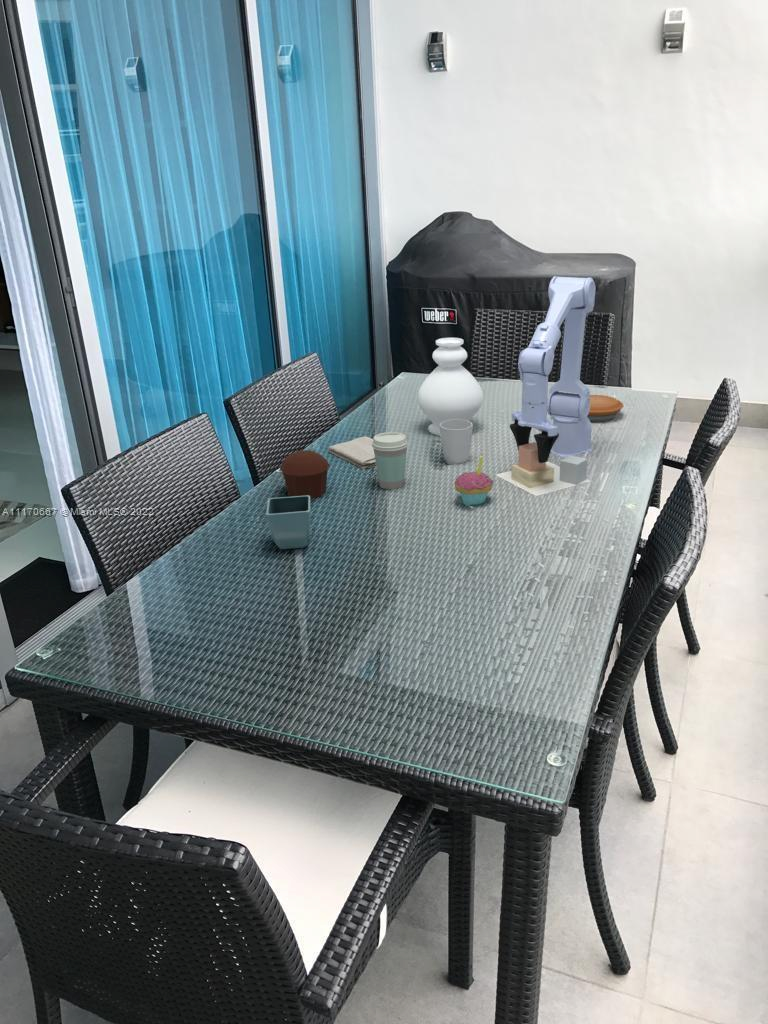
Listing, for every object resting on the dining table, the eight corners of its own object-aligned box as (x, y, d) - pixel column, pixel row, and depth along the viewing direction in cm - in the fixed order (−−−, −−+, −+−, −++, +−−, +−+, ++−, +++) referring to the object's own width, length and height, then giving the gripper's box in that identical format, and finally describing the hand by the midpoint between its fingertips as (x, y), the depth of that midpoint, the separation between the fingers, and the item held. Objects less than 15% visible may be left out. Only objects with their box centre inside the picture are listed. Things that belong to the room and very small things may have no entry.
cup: (472, 456, 225) (472, 419, 220) (472, 467, 217) (472, 429, 213) (441, 456, 225) (440, 419, 221) (439, 467, 218) (438, 429, 214)
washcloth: (365, 472, 219) (364, 460, 218) (326, 454, 232) (325, 443, 231) (402, 461, 225) (402, 449, 224) (362, 444, 239) (362, 433, 237)
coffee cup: (415, 480, 211) (413, 433, 206) (400, 493, 204) (398, 444, 199) (383, 476, 214) (380, 429, 210) (367, 488, 207) (365, 440, 203)
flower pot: (271, 536, 185) (267, 497, 182) (313, 533, 186) (310, 494, 182) (270, 554, 177) (265, 514, 173) (313, 551, 178) (310, 511, 174)
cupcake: (496, 497, 199) (496, 447, 195) (487, 511, 192) (488, 460, 187) (459, 493, 202) (459, 444, 197) (450, 508, 195) (449, 457, 190)
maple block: (535, 473, 210) (535, 459, 209) (553, 481, 205) (554, 467, 203) (511, 479, 207) (511, 465, 206) (529, 488, 202) (529, 474, 200)
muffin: (273, 499, 204) (269, 458, 200) (294, 482, 213) (291, 443, 209) (320, 504, 200) (317, 463, 196) (339, 486, 209) (336, 447, 205)
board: (548, 463, 218) (548, 461, 217) (591, 483, 205) (591, 481, 204) (495, 477, 211) (495, 474, 211) (536, 498, 198) (536, 496, 198)
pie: (567, 424, 245) (568, 407, 243) (566, 408, 259) (567, 391, 257) (624, 425, 243) (625, 407, 241) (620, 408, 257) (621, 392, 255)
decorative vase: (485, 438, 237) (485, 347, 227) (419, 440, 238) (417, 349, 228) (479, 418, 253) (480, 332, 243) (418, 420, 254) (416, 334, 244)
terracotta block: (533, 462, 207) (534, 442, 205) (545, 467, 204) (546, 447, 202) (518, 466, 205) (518, 446, 203) (530, 471, 202) (530, 451, 200)
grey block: (569, 474, 208) (570, 455, 206) (586, 478, 206) (587, 459, 204) (559, 480, 205) (560, 460, 203) (576, 484, 203) (577, 464, 201)
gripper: (501, 396, 203) (500, 452, 208) (540, 411, 191) (538, 470, 196) (525, 391, 206) (524, 446, 211) (565, 406, 194) (563, 463, 199)
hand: (533, 457), depth 204 cm, fingers open, 7 cm apart
